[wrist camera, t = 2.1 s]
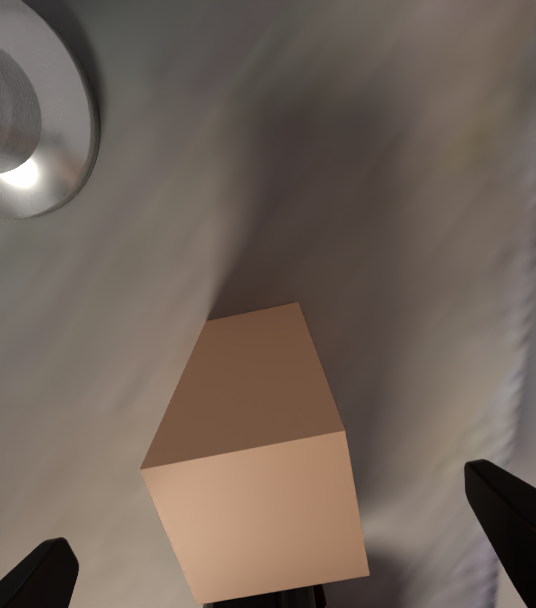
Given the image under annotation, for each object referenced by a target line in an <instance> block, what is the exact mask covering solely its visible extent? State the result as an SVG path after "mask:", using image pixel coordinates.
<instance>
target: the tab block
mask: <svg viewBox="0 0 536 608" xmlns="http://www.w3.org/2000/svg"><path fill="white" fill-rule="evenodd" d="M140 472H141V474H142V476H143V479H144V481H145V483H146V486H147V488H148V490H149V493H150V495H151V497H152V500H153V502H154V505H155V507H156V509H157V512H158V514H159V516H160V519H161V521H162V523H163V526H164V528H165V531H166V533H167V535H168V538H169V540H170V542H171V545H172V547H173V549H174V552H175V554H176V556H177V559H178V561H179V564H180V566H181V568H182V571H183V573H184V575H185V578H186V580H187V582H188V585H189V587H190V589H191V592H192V594H193V597H194V599H195V601H196V604H197V605H200V604H205V603H211V602H217V601H223V600H229V599H235V598H241V597H247V596H252V595H258V594H264V593H270V592H276V591H282V590H288V589H293V588H299V587H305V586H311V585H317V584H323V583H329V582H335V581H340V580H346V579H352V578H358V577H364V576H370V574H369V568H368V562H367V556H366V550H365V544H364V538H363V533H362V527H361V521H360V515H359V509H358V503H357V497H356V491H355V485H354V480H353V474H352V468H351V462H350V456H349V450H348V444H347V438H346V433H345V429H344V426H343V423H342V421H341V418H340V415H339V412H338V410H337V407H336V404H335V401H334V399H333V396H332V393H331V390H330V388H329V385H328V382H327V379H326V377H325V374H324V371H323V368H322V366H321V363H320V360H319V357H318V354H317V352H316V349H315V346H314V343H313V341H312V338H311V335H310V332H309V330H308V327H307V324H306V321H305V319H304V316H303V313H302V310H301V308H300V305H299V302H296V303H291V304H286V305H281V306H277V307H272V308H267V309H262V310H258V311H253V312H248V313H243V314H238V315H234V316H229V317H224V318H219V319H215V320H210V321H206V322H205V324H204V327H203V329H202V331H201V333H200V336H199V338H198V340H197V342H196V345H195V347H194V349H193V351H192V354H191V356H190V358H189V360H188V363H187V365H186V367H185V369H184V372H183V374H182V376H181V378H180V381H179V383H178V385H177V387H176V390H175V392H174V394H173V396H172V399H171V401H170V403H169V405H168V408H167V410H166V412H165V414H164V417H163V419H162V421H161V423H160V426H159V428H158V430H157V432H156V435H155V437H154V439H153V441H152V443H151V446H150V448H149V450H148V452H147V455H146V457H145V459H144V461H143V464H142V466H141V468H140Z"/></svg>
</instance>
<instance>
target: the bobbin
mask: <svg viewBox="0 0 536 608" xmlns="http://www.w3.org/2000/svg"><path fill="white" fill-rule="evenodd" d="M99 137H100V129H99V116H98V109H97V104H96V100H95V97H94V93H93V90H92V87H91V85H90V82H89V79H88V77H87V75H86V73H85V71H84V69H83V67H82V65H81V63H80V61H79V59H78V58H77V56H76V55H75V53H74V52H73V50H72V49H71V47H70V46H69V45H68V44H67V42H66V41H65V40H64V39H63V37H62V36H61V35H60V34H59V33H58V32H57V31H56V30H55V29H54V28H53V27H52V26H51V25H50V24H49V23H48V22H47V21H46V20H45V19H43V18H42V17H41V16H40V15H39V14H37V13H36V12H35V11H34V10H33V9H31V8H30V7H29V6H28V5H26V4H25V3H24V2H23V1H21V0H0V219H22V218H31V217H37V216H41V215H45V214H48V213H51V212H53V211H55V210H57V209H59V208H61V207H62V206H64V205H65V204H67V203H68V202H69V201H71V200H72V199H73V198H74V197H75V196H76V195H77V194H78V193H79V192H80V190H81V189H82V188H83V186H84V185H85V184H86V182H87V180H88V178H89V176H90V175H91V172H92V170H93V167H94V164H95V162H96V157H97V153H98V148H99Z"/></svg>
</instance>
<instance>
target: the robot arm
mask: <svg viewBox="0 0 536 608" xmlns="http://www.w3.org/2000/svg"><path fill="white" fill-rule="evenodd" d="M464 474H465V492H466V496H467V499H468V502H469V504H470V506H471V507H472V509H473V511H474V513H475V515H476V517H477V519H478V521H479V522H480V524H481V526H482V528H483V530H484V532H485V534H486V535H487V537H488V539H489V541H490V543H491V545H492V547H493V548H494V550H495V552H496V554H497V556H498V558H499V560H500V561H501V563H502V565H503V567H504V569H505V571H506V573H507V574H508V576H509V578H510V580H511V581H512V583H513V585H514V587H515V588H516V590H517V592H518V593H519V595H520V596H521V598H522V600H523V601H524V603H525V604H526V606H527V607H528V608H536V488H535V487H533V486H532V485H530V484H528V483H526V482H525V481H523V480H521V479H519V478H518V477H516V476H514V475H512V474H511V473H509V472H507V471H506V470H504V469H502V468H500V467H499V466H497V465H495V464H493V463H492V462H490V461H488V460H485V459H480V460H474V461H469V462H466V463H465V465H464ZM78 571H79V563H78V560H77V558H76V556H75V554H74V552H73V551H72V549H71V547H70V545H69V543H68V541H67V540H66V539H65V538H63V537H59V538H54V539H49V540H46V541H44V542H42V543H41V544H40V545H39V546H37V547H36V548H35V549H34V550H33V551H32V552H31V553H30V554H29V555H28V556H27V557H25V558H24V559H23V560H22V561H21V562H20V563H19V564H18V565H17V566H16V567H15V568H13V569H12V570H11V571H10V572H9V573H8V574H7V575H6V576H5V577H4V578H3V579H1V580H0V608H68V607H69V603H70V600H71V597H72V593H73V590H74V586H75V583H76V580H77V576H78ZM325 606H326V599H325V593H324V589H323V585H322V584H317V585H311V586H305V587H299V588H293V589H288V590H282V591H276V592H270V593H264V594H258V595H252V596H247V597H241V598H235V599H229V600H223V601H217V602H211V603H205V604H204V605H203V608H325Z"/></svg>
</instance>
